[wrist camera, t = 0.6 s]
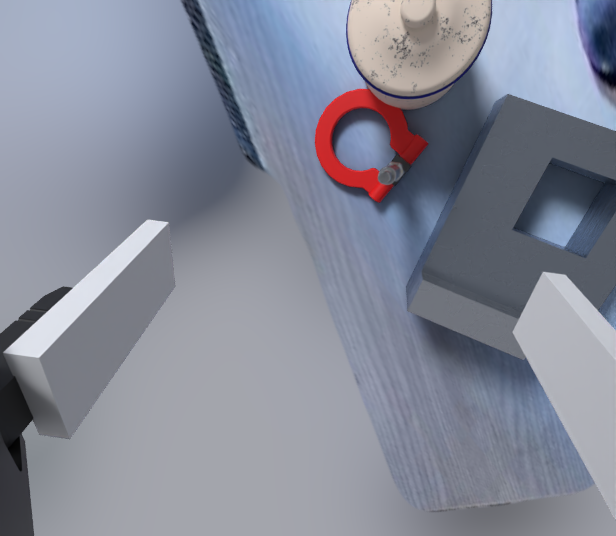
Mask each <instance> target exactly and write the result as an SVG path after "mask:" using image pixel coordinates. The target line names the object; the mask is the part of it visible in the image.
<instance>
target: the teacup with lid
mask: <svg viewBox="0 0 616 536" xmlns="http://www.w3.org/2000/svg"><path fill="white" fill-rule="evenodd" d="M491 18H492V0H351V3H350V7H349V10H348V16H347V24H346V37H347V45H348V50H349V54H350V57H351V59H352V62H353V64H354V66H355V68H356V70H357V71H358V73H359V74H360V76H361V77H362V78H363V79H364V80H365V82H366V85H367V87H368V88H369V89H370V90H371V92H372V93H373V94H374V95H375V96H376V97H377V98H378V99H380V100H381V101H383V102H384V103H386V104H388V105H391V106H394V107H398V108H400V109H401V110H413V109H418V108H422V107H425V106H428V105H430V104H432V103H434V102H435V101H437V100H438V99H440V98H441V97H442V96H444V95H445V94H446V93H447V92H448V91H449V90H450V88H451V87H452V86H453V85H454V83H455V82H456V81H458V80H459V79H460V78H461V77H462V76H463V75H464V74H465V73H466V72H467V71H468V70H469V69H470V67H471V66H472V65H473V63H474V62H475V61H476V59H477V58H478V56H479V54H480V52H481V50H482V48H483V46H484V44H485V42H486V39H487V36H488V33H489V29H490V24H491Z"/></svg>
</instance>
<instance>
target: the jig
mask: <svg viewBox="0 0 616 536" xmlns="http://www.w3.org/2000/svg"><path fill="white" fill-rule="evenodd" d="M549 163H551V164H554V165H556V166H559V167H562V168H565V169H567V170H570V171H573V172H576V173H579V174H581V175H584V176H587V177H590V178H592V179H595V180H598V181H601V182H603V183H605V184H604V185H603V187H602V189H601V190H600V192H599V193H598V195H597V197H596V198H595V200H594V202H593V203H592V205H591V206H590V208H589V210H588V211H587V213H586V215H585V216H584V218H583V219H582V221H581V223H580V224H579V226H578V228H577V229H576V231H575V232H574V234H573V236H572V237H571V239H570V240H569V242H568V244H567V245H566V247H562V246H560V245H557V244H554V243H552V242H549V241H547V240H544V239H541V238H539V237H536V236H534V235H531V234H528V233H526V232H523V231H521V230H518V229H515V228H513V227H514V225H515V223H516V222H517V220H518V218H519V216H520V214H521V213H522V211H523V209H524V207H525V205H526V204H527V202H528V200H529V198H530V196H531V195H532V193H533V191H534V189H535V187H536V186H537V184H538V182H539V180H540V179H541V177H542V175H543V173H544V171H545V170H546V168H547V166H548V164H549ZM543 272H549V273H556V274H564V275H566V276H567V277H568V278H569V279H570V280H571V282H572V283H573V284H574V285H575V286H576V287H577V288H578V289H579V290H580V292H581V293H582V294H583V295H584V296H585V297H586V298H587V299H588V300H589V302H590V303H591V304H592V305H593V306H594V307H595V308H596V309H597V310H599V309H600V307H601V306H602V304H603V303H604V301H605V300H606V298H607V297H608V296H609V294H610V293H611V291H612V290H613V288H614V287H615V285H616V131H613V130H611V129H608V128H605V127H602V126H599V125H596V124H593V123H590V122H587V121H584V120H582V119H579V118H576V117H573V116H570V115H567V114H564V113H561V112H558V111H556V110H553V109H550V108H547V107H544V106H541V105H538V104H535V103H532V102H530V101H527V100H524V99H521V98H518V97H515V96H512V95H509V94H507V95H506V96H504V97H502V98H501V99H499V100H497V101H496V102H495V103H494V105H493V108H492V110H491V112H490V114H489V116H488V118H487V120H486V122H485V124H484V126H483V128H482V130H481V132H480V135H479V137H478V139H477V141H476V143H475V145H474V147H473V149H472V151H471V153H470V155H469V157H468V159H467V161H466V164H465V166H464V168H463V170H462V172H461V174H460V176H459V178H458V180H457V182H456V184H455V186H454V188H453V191H452V193H451V195H450V197H449V199H448V201H447V203H446V205H445V207H444V209H443V211H442V213H441V215H440V217H439V220H438V222H437V224H436V226H435V228H434V230H433V232H432V234H431V236H430V238H429V240H428V242H427V244H426V247H425V249H424V251H423V253H422V255H421V257H420V259H419V261H418V263H417V265H416V267H415V269H414V271H413V273H412V276H411V278H410V280H409V282H408V284H407V286H406V296H407V311H408V312H411V313H413V314H415V315H418V316H420V317H423V318H425V319H427V320H430V321H432V322H434V323H437V324H439V325H442V326H444V327H446V328H449V329H451V330H453V331H456V332H458V333H460V334H463V335H465V336H468V337H470V338H472V339H475V340H477V341H479V342H482V343H484V344H487V345H489V346H491V347H494V348H496V349H498V350H501V351H503V352H505V353H508V354H510V355H513V356H515V357H517V358H520V359H522V360H524V359H525V358H526V356H525V354H524V353H523V351H522V349H521V347H520V345H519V343H518V342H517V340H516V338H515V336H514V334H513V330H514V328H515V326H516V324H517V322H518V320H519V318H520V316H521V314H522V312H523V310H524V308H525V306H526V304H527V302H528V300H529V298H530V296H531V294H532V292H533V290H534V288H535V286H536V284H537V282H538V280H539V278H540V277H541V275H542V273H543Z"/></svg>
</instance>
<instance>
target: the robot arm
mask: <svg viewBox="0 0 616 536" xmlns="http://www.w3.org/2000/svg"><path fill="white" fill-rule="evenodd" d="M174 288H175V278H174V269H173V259H172V250H171V239H170V230H169V223H168V222H161V221H154V220H147V221H146V222H145V223H143V224H142V225H141V226H140V227H139V228H138V229H137V230H136V231H135V232H134V233H132V234H131V235H130V236H129V237H128V238H127V239H126V240H125V241H124V242H123V243H122V244H121V245H119V246H118V247H117V248H116V249H115V250H114V251H113V252H112V253H111V254H110V255H109V256H108V257H106V258H105V259H104V260H103V261H102V262H101V263H100V264H99V265H98V266H97V267H95V268H94V269H93V270H92V271H91V272H90V273H89V274H88V275H87V276H86V277H85V278H84V279H82V280H81V281H80V283H78V284H77V285H76V286H75V287H74V288H70V287H61V288H59V289H57V290H55V291H53V292H51V293H49V294H47V295H45V296H44V297H42V298H41V299H40V300H39V301H38V302H37V303H35V304H34V305H33V306H32V307H31V308H30V311H29V310H27V311H26V312H25V313H24V314H23V315H21V316H20V317H19V320H18V321H14V322H13V323H12V324H11V325H10V326H9V327H8V328H6V329H5V330H4V331H3V332H2V333H0V536H34V531H33V519H32V509H31V499H30V489H29V478H28V468H27V459H26V448H25V441H24V438H23V436H22V434H21V433H22V432H23V431H24V429H25V428H26V427H27V426H28V425H29V423H30V422H31V421H32V420H33V422H34V424H35V426H36V428H37V431H38V433H39V435H44V436H51V437H59V438H65V439H70V438H71V437H72V435H73V434H74V433H75V431H76V430H77V428H78V427H79V425H80V424H81V422H82V421H83V419H84V418H85V417H86V415H87V414H88V412H89V411H90V409H91V408H92V406H93V405H94V404H95V402H96V401H97V399H98V398H99V396H100V395H101V393H102V392H103V391H104V389H105V388H106V386H107V385H108V383H109V382H110V380H111V379H112V378H113V376H114V374H115V373H116V372H117V370H118V369H119V367H120V366H121V364H122V363H123V362H124V360H125V359H126V357H127V356H128V354H129V353H130V351H131V350H132V349H133V347H134V346H135V344H136V343H137V341H138V340H139V338H140V337H141V335H142V334H143V333H144V331H145V329H146V328H147V327H148V325H149V324H150V322H151V321H152V319H153V318H154V317H155V315H156V314H157V312H158V311H159V309H160V308H161V306H162V305H163V304H164V302H165V301H166V299H167V298H168V296H169V295H170V293H171V292H172V290H173V289H174ZM513 334H514V336H515V338H516V340H517V342H518V343H519V345H520V347H521V349H522V351H523V353H524V354H525V356H526V358H527V360H528V362H529V364H530V365H531V367H532V369H533V371H534V373H535V374H536V376H537V378H538V380H539V382H540V384H541V385H542V387H543V389H544V391H545V393H546V395H547V396H548V398H549V400H550V402H551V404H552V406H553V407H554V409H555V411H556V413H557V415H558V416H559V418H560V420H561V422H562V424H563V426H564V427H565V429H566V431H567V433H568V435H569V437H570V438H571V440H572V442H573V444H574V446H575V448H576V449H577V451H578V453H579V455H580V457H581V459H582V460H583V462H584V464H585V466H586V468H587V469H588V471H589V473H590V475H591V477H592V479H593V480H594V482H595V484H596V486H597V488H598V490H599V491H600V493H601V495H602V497H603V499H604V501H605V502H606V504H607V506H608V508H609V510H610V511H611V513H612V515H613V517H614V519H615V520H616V330H615V329H614V328H613V327H612V326H611V325H610V324H609V323H608V322H607V320H606V319H605V318H604V317H603V316H602V315H601V314H600V313H599V312H598V310H597V309H596V308H595V307H594V306H593V305H592V304H591V303H590V302H589V300H588V299H587V298H586V297H585V296H584V295H583V294H582V293H581V292H580V290H579V289H578V288H577V287H576V286H575V285H574V284H573V283H572V282H571V280H570V279H569V278H568V277H567V276H566V275H564V274H556V273H549V272H543V273H542V275H541V277H540V278H539V280H538V282H537V284H536V286H535V288H534V290H533V292H532V294H531V296H530V298H529V300H528V302H527V304H526V306H525V308H524V310H523V312H522V314H521V316H520V318H519V320H518V322H517V324H516V326H515V328H514V330H513Z"/></svg>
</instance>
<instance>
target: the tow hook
mask: <svg viewBox="0 0 616 536" xmlns="http://www.w3.org/2000/svg"><path fill="white" fill-rule="evenodd" d="M359 108H369V109H371V110H374V111H377V112H378V113H379V114H381V115H382V116H383V117H384V119H385V120H386V121H387V123H388V126H389V128H390V134H391V142H390V145H391V148H393V149H394V150H395V151H396V152H398V153H399V154H400V155H396V156H395V157H394V159H393V160H392V161H391V162H389V164H388V165H387V166H386V167H384V168H382V169H381V170H380V171H378V170H377V169H376V168H371V169H369V170H364V171H357V170H352V169H349V168H347V167H346V166H344V165H343V164H341V163H340V161H339V160H338V159H337V157H336V155H335V153H334V151H333V146H332V136H333V132H334V129H335V126H336V124H337V123H338V121H339V120H340V119H341V118H342V117H343V116H344V115H345V114H346V113H348V112H350V111H352V110H355V109H359ZM427 145H428V142H427V141H426V140H425V139H423V138H422V137H421V136H420V135H417V134H416V135H413V134H412V133H411V132H410V131H408V125H407V122H406V119H405V117H404V114H403V112H402V110H401V109H400V108H398V107H394V106H391V105H388V104H386V103H384V102H383V101H381V100H380V99H378V98H377V97H376V96H375V95H374V94H373V93H372V92H371V90H370V89H357V90H353V91H349V92H346V93H344V94H343V95H341V96H339V97H337V98H336V99H335V100H334V101H332V102H331V103H330V104H329V105H328V106H327V107H326V109H325V111H324V112H323V114H322V115H321V117H320V119H319V122H318V125H317V128H316V135H315V147H316V153H317V157H318V159H319V161H320V163H321V166H322V167H323V168H324V170H325V171H326V172H327V173H328V175H329V176H330V177H332V178H333V179H335V180H336V181H337V182H339V183H341V184H344V185H346V186H349V187H358V188H364V189H365V190H366V191H367V192H369V193H368V194H369V196H370V197H371V198H372V199H374V200H375V201H376V202H378V203H380V202H381V201H382V200H383V198H384V197H385V196H386V195H387V194H388V192H389V191H390V190H391V189H392V187H393V186H395V185H396V184H397V183H398V182H399V181H400V179H401V178H402V177H403V176H404V175H405V173H406V172H407V171H408V170H409V169H410V167H411V165H412V163H413V162H414V161H415V160H416V159H417V157H418V156H419V155H420V154H421V152H422V151H423V150H424V149H425V148H426V146H427Z"/></svg>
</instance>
